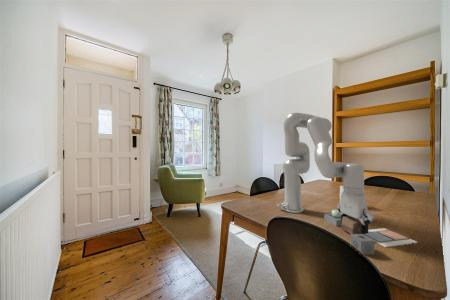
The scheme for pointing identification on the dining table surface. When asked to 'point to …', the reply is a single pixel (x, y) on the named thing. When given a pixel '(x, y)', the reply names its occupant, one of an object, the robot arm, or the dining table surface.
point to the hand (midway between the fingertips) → (353, 228)
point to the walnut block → (351, 225)
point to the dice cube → (363, 243)
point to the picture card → (388, 237)
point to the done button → (336, 214)
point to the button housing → (332, 220)
